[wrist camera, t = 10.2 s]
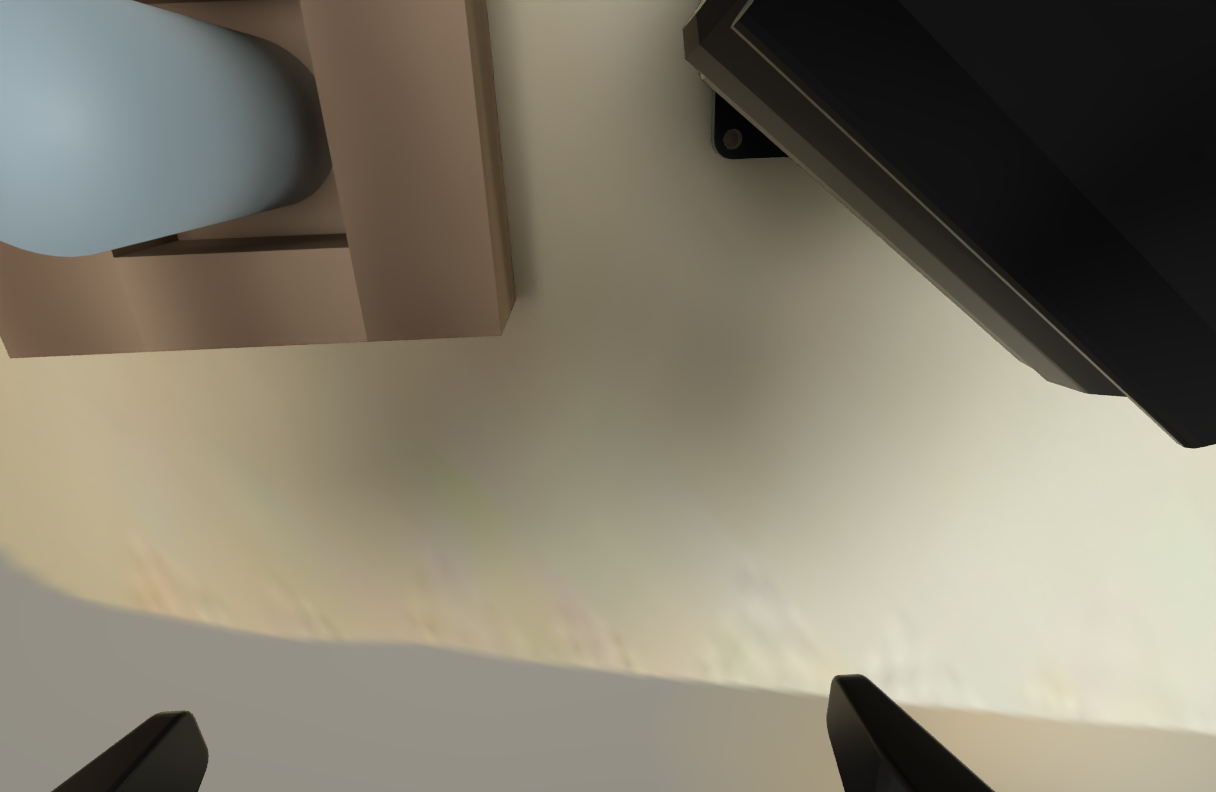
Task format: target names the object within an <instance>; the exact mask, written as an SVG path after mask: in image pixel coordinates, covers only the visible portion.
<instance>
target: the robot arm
mask: <svg viewBox="0 0 1216 792" xmlns="http://www.w3.org/2000/svg"><path fill="white" fill-rule="evenodd" d="M683 42H684V55H685V59H686V60H687V61H688V62H690V63H691V64H692V65H693V66H694V67H695V68H696V69H697V70H699V74H700V75H701V79H702V80H703V81H704V82H706V83H707V84H708V85H709V86H710V87H711V88H712V126H711V142H712V147H713V149H714V151H715V152H716V154H718V155H719V156H721V157H723V158H728V159H747V158H771V157H790V158H791V159H792V160H793V161H795V162H796V163H797V164H798V165H799V166H800V167H801V168H802V169H804V170H805V171H806V172H807V173H808V174H809V175H810V176H811V177H813V178H814V179H815V180H816V181H817V182H818V183H819V184H821V185H822V186H823V187H824V188H825V189H826V190H827V191H828V192H830V193H831V194H832V195H833V196H834V197H835V198H836V199H837V200H839V201H840V202H841V203H842V204H843V205H844V206H845V207H846V208H848V209H849V210H850V211H851V212H852V213H853V214H854V215H855V216H857V217H858V218H859V219H860V220H861V221H862V222H863V223H864V224H866V225H867V226H868V227H869V228H870V229H871V230H872V231H873V232H875V233H876V234H877V235H878V236H879V237H880V238H881V239H883V240H884V241H885V242H886V243H887V244H888V245H889V246H890V247H892V248H893V249H894V250H895V251H896V252H897V253H898V254H899V255H901V256H902V257H903V258H904V259H905V260H906V261H907V262H908V263H910V264H911V265H912V266H913V267H914V268H915V269H916V270H917V271H919V272H920V273H921V274H922V275H923V276H924V277H925V278H926V279H928V280H929V281H930V282H931V283H932V284H933V285H934V286H935V287H937V288H938V289H939V290H940V291H941V292H942V293H943V294H944V295H946V296H947V297H948V298H949V299H950V300H951V301H952V302H954V303H955V304H956V305H957V306H958V307H959V308H960V309H961V310H963V311H964V312H965V313H966V314H967V315H968V316H969V317H970V318H972V319H973V320H974V321H975V322H976V323H977V324H978V325H979V326H981V327H982V328H983V329H984V330H985V331H986V332H987V333H988V334H990V335H991V336H992V337H993V338H994V339H995V340H996V341H997V342H999V343H1000V344H1001V345H1002V346H1003V347H1004V348H1005V349H1006V350H1008V351H1009V352H1010V353H1011V354H1012V355H1013V356H1014V357H1016V358H1017V359H1018V360H1019V361H1020V362H1022V363H1024V364H1026V365H1028V366H1029V367H1031V368H1033V369H1034V370H1035V371H1037V372H1038V373H1039V374H1040V375H1041V376H1042V377H1043V378H1044V379H1046V380H1047V381H1049V382H1052V383H1055V384H1058V385H1061V386H1065V387H1068V388H1071V389H1074V390H1077V391H1080V392H1083V393H1087V394H1097V395H1110V396H1123V397H1128V398H1129V399H1130V400H1131V401H1132V402H1133V403H1134V404H1136V405H1137V406H1138V407H1139V408H1140V409H1141V410H1142V411H1143V412H1144V413H1145V414H1146V415H1147V416H1148V417H1150V418H1151V419H1152V420H1153V421H1154V422H1155V423H1156V424H1157V425H1158V426H1159V427H1160V428H1161V429H1162V430H1163V431H1165V432H1166V433H1167V434H1168V435H1169V436H1170V437H1171V438H1172V439H1173V440H1174V441H1175V442H1176V443H1177V444H1179V445H1181V446H1183V447H1185V448H1200V447H1205V446H1209V445H1213V444H1216V0H700V4H699V6H698V7H697V9H696V10H695V11H694V13H693V14H692V16H691V17H690V19H689V20H688V22H687V23H686V25H685V26H684V28H683ZM730 129H734V130H735V131H736V132H737V133H738V137H739V140H738V143H737V145H736V146H735V147H734V148H731V149H728V148H727V147H726V146H725V145H724V142H723V137H724V134H725V133H726V132H727V131H728V130H730ZM826 720H827V728H828V734H829V738H830V741H831V745H832V748H833V752H834V755H835V758H836V762H837V766H838V769H839V773H840V776H841V780H842V783H843V787H844V791H845V792H995V791H994V790H993V789H991V788H990V787H989V786H988V785H987V784H986V783H985V782H983V781H982V780H981V779H980V778H979V777H978V776H977V775H976V774H975V773H973V772H972V771H971V770H970V769H969V768H968V767H967V766H966V765H965V764H963V763H962V762H961V761H960V760H959V759H958V758H957V757H956V756H954V755H953V754H952V753H951V752H950V751H949V750H948V749H946V748H945V747H944V746H943V745H942V744H941V743H940V742H939V741H937V740H936V739H935V738H934V737H933V736H932V735H931V734H930V733H929V732H928V731H926V730H925V729H924V728H923V727H922V726H921V725H919V723H917V722H916V721H915V720H914V719H913V718H912V717H911V716H910V715H908V714H907V713H906V712H905V711H904V710H903V709H902V708H901V707H899V706H898V705H897V704H896V703H895V702H894V701H893V700H892V699H890V698H889V697H888V696H887V695H886V694H885V693H884V692H883V691H882V690H880V689H879V688H878V687H877V686H876V685H875V684H874V683H873V682H871V681H870V680H869V679H868V678H867V677H865V676H863V675H860V674H850V675H837V676H835V677H834V678H833V680H832V683H831V689H830V695H829V703H828V709H827V717H826ZM207 764H208V748H207V746H206V744H205V741H204V738H203V736H202V734H201V731H200V729H199V727H198V724H197V722H196V719H195V717H194V716H193V714H191V713H190V712H189V711H167V712H160V713H157V714H155V715H153V716H152V717H150V718H149V719H147V720H146V721H145V722H143V723H142V724H141V725H139V726H138V727H137V728H135V729H134V730H133V731H131V732H130V733H129V734H127V735H126V736H125V737H123V738H122V739H121V740H119V741H118V742H117V743H115V744H114V745H113V746H111V747H110V748H109V749H107V750H106V751H105V752H103V753H102V754H101V755H99V756H98V757H97V758H95V759H94V760H93V761H91V762H90V763H89V764H87V765H86V766H85V767H83V768H82V769H81V770H79V771H78V772H77V773H75V774H74V775H73V776H71V777H70V778H69V779H67V780H66V781H65V782H63V783H62V784H61V785H60V786H58V787H57V788H55V789H54V790H53V791H52V792H198V790H199V787H200V785H201V782H202V779H203V777H204V774H205V772H206V768H207Z"/></svg>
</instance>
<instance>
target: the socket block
mask: <svg viewBox="0 0 1216 792" xmlns="http://www.w3.org/2000/svg"><path fill="white" fill-rule="evenodd" d="M133 1H136V2H140V3H143V4H147V5H150V6H154V7H157V8H160V9H164V10H167V11H171V12H174V13H178V14H181V15H184V16H188V17H191V18H195V19H198V20H202V21H205V22H209V23H212V24H215V25H219V26H222V27H226V28H229V29H233V30H236V31H239V32H243V33H246V34H250V35H253V36H257V37H260V38H263V39H266V40H268V41H271V42H273V43H275V44H277V45H279V46H281V47H282V48H284V49H285V50H287V51H289V52H290V53H291V54H293V55H294V56H295V57H296V58H298V59H299V60H300V61H301V62H302V63H303V64H304V65H305V66H306V67H307V68H308V69H309V70H310V72H311V73H312V74H313V75H314V77H315V80H316V85H317V90H318V95H319V100H320V105H321V110H322V115H323V120H324V125H325V130H326V135H327V140H328V145H329V150H330V155H331V160H332V165H333V166H332V168H331V170H330V173H329V175H328V176H327V178H326V180H325V181H324V183H323V184H322V185H321V186H320V187H319V189H318V190H317V191H315V192H314V193H313V194H312V195H311V196H309V197H307V198H306V199H304V200H303V201H300V202H298V203H296V204H293V205H289V206H285V207H281V208H277V209H273V210H269V211H265V212H261V213H257V214H253V215H249V216H245V217H241V218H237V219H233V220H229V221H225V222H221V223H217V224H213V225H209V226H205V227H201V228H197V229H193V230H189V231H185V232H181V233H177V234H173V235H169V236H165V237H161V238H157V239H153V240H149V241H145V242H141V243H137V244H133V245H129V246H125V247H121V248H117V249H113V250H109V251H105V252H101V253H97V254H93V255H86V256H77V257H62V256H51V255H44V254H39V253H35V252H31V251H27V250H23V249H20V248H18V247H15V246H12V245H10V244H7V243H4V242H2V241H0V337H1V339H2V341H3V343H4V346H5V348H6V350H7V352H8V355H9V357H10V358H26V357H47V356H69V355H90V354H112V353H134V352H155V351H177V350H198V349H220V348H241V347H263V346H284V345H306V344H327V343H349V342H370V341H392V340H414V339H435V338H457V337H478V336H500V335H502V332H503V330H504V327H505V325H506V322H507V320H508V317H509V315H510V312H511V310H512V307H513V305H514V303H515V291H514V281H513V270H512V260H511V250H510V240H509V230H508V219H507V209H506V199H505V189H504V178H503V168H502V158H501V148H500V138H499V127H498V117H497V107H496V97H495V87H494V76H493V66H492V56H491V46H490V35H489V25H488V15H487V5H486V0H133Z"/></svg>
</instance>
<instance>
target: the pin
mask: <svg viewBox="0 0 1216 792" xmlns="http://www.w3.org/2000/svg"><path fill="white" fill-rule="evenodd" d="M332 166H333V165H332V160H331V155H330V150H329V145H328V140H327V135H326V130H325V125H324V120H323V115H322V110H321V105H320V100H319V95H318V90H317V85H316V80H315V77H314V75H313V74H312V73H311V72H310V70H309V69H308V68H307V67H306V66H305V65H304V64H303V63H302V62H301V61H300V60H299V59H298V58H296V57H295V56H294V55H293V54H291V53H290V52H289V51H287V50H285V49H284V48H282V47H281V46H279V45H277V44H275V43H273V42H271V41H268V40H266V39H263V38H260V37H257V36H253V35H250V34H246V33H243V32H239V31H236V30H233V29H229V28H226V27H222V26H219V25H215V24H212V23H209V22H205V21H202V20H198V19H195V18H191V17H188V16H184V15H181V14H178V13H174V12H171V11H167V10H164V9H160V8H157V7H154V6H150V5H147V4H143V3H140V2H136V1H133V0H0V241H2V242H4V243H7V244H10V245H12V246H15V247H18V248H20V249H23V250H27V251H31V252H35V253H39V254H44V255H51V256H62V257H77V256H86V255H93V254H97V253H101V252H105V251H109V250H113V249H117V248H121V247H125V246H129V245H133V244H137V243H141V242H145V241H149V240H153V239H157V238H161V237H165V236H169V235H173V234H177V233H181V232H185V231H189V230H193V229H197V228H201V227H205V226H209V225H213V224H217V223H221V222H225V221H229V220H233V219H237V218H241V217H245V216H249V215H253V214H257V213H261V212H265V211H269V210H273V209H277V208H281V207H285V206H289V205H293V204H296V203H298V202H300V201H303V200H304V199H306V198H307V197H309V196H311V195H312V194H313V193H314V192H315V191H317V190H318V189H319V187H320V186H321V185H322V184H323V183H324V181H325V180H326V178H327V176H328V175H329V173H330V170H331V168H332Z"/></svg>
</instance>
